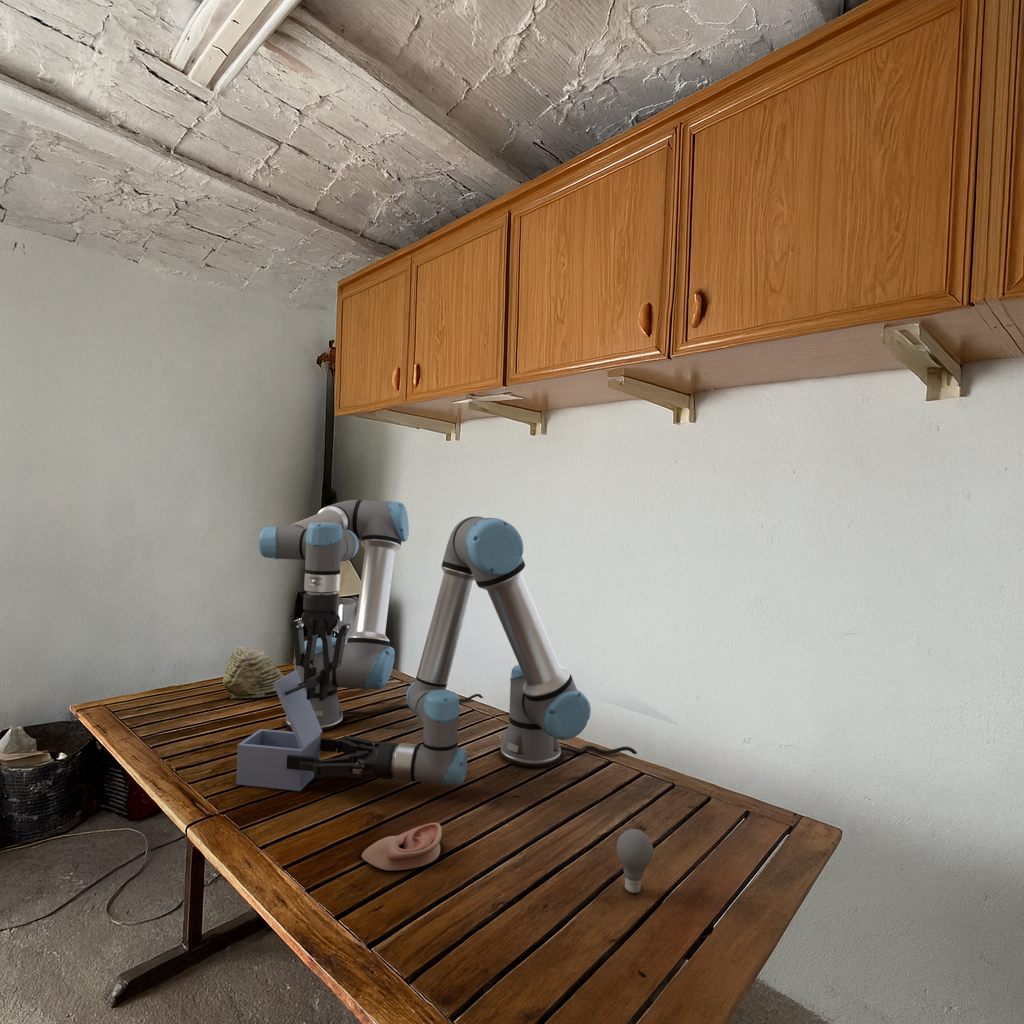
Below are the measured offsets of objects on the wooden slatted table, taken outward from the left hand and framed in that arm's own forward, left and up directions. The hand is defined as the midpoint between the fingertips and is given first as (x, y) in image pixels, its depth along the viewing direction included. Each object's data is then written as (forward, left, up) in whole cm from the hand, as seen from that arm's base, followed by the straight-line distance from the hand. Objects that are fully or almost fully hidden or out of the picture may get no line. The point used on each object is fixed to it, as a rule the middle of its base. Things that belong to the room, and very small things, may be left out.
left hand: (316, 698), depth 140 cm
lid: (+2, -4, -3) cm, 5 cm away
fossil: (-22, -65, -19) cm, 71 cm away
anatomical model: (+6, +36, -19) cm, 41 cm away
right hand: (+2, -3, -12) cm, 13 cm away
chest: (+4, -7, -19) cm, 20 cm away
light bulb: (-13, +72, -19) cm, 75 cm away
